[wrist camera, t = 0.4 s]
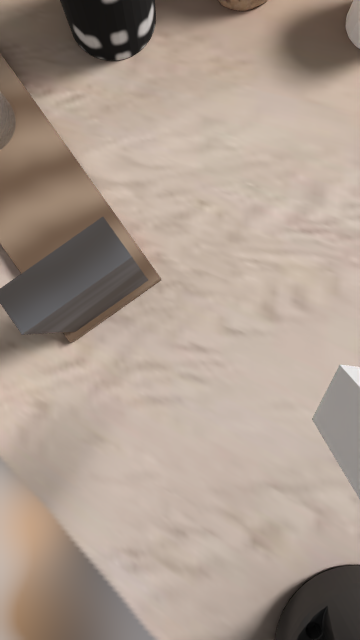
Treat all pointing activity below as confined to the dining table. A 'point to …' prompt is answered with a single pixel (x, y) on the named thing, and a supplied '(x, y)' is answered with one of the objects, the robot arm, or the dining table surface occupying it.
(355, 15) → the shot glass
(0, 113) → the steel tin
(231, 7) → the figurine
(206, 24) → the dining table surface
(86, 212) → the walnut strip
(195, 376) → the dining table surface
